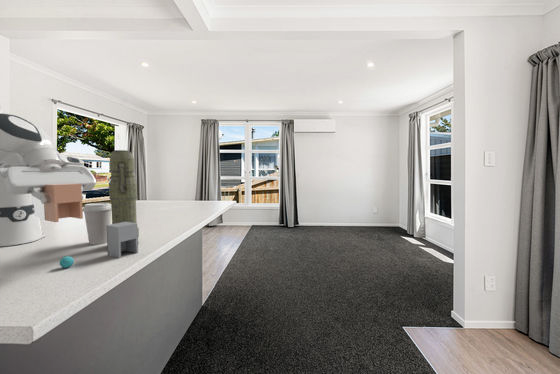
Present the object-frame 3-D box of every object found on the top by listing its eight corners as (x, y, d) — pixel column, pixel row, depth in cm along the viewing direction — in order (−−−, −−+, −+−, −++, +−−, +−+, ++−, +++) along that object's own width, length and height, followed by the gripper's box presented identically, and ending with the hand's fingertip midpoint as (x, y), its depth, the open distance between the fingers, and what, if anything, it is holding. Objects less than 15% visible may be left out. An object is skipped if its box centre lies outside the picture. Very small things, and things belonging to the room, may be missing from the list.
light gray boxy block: (107, 255, 87) (106, 225, 86) (126, 249, 92) (125, 221, 91) (119, 258, 83) (117, 227, 83) (138, 252, 89) (137, 223, 88)
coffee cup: (99, 246, 96) (97, 205, 95) (77, 245, 98) (75, 205, 97) (119, 239, 105) (118, 202, 104) (99, 238, 107) (98, 202, 106)
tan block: (44, 220, 73) (42, 184, 73) (71, 216, 79) (69, 183, 78) (55, 222, 70) (53, 185, 70) (82, 218, 76) (81, 183, 75)
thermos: (136, 239, 106) (133, 152, 104) (141, 246, 96) (137, 150, 94) (110, 243, 101) (106, 151, 98) (112, 250, 91) (108, 149, 89)
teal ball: (57, 268, 75) (56, 257, 75) (70, 264, 78) (70, 254, 78) (63, 270, 73) (62, 259, 73) (76, 266, 76) (75, 255, 76)
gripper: (-1, 156, 68) (17, 196, 64) (87, 159, 86) (106, 190, 82) (-7, 174, 70) (11, 213, 66) (81, 173, 88) (98, 204, 84)
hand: (64, 200), depth 74 cm, fingers closed on tan block, 6 cm apart
